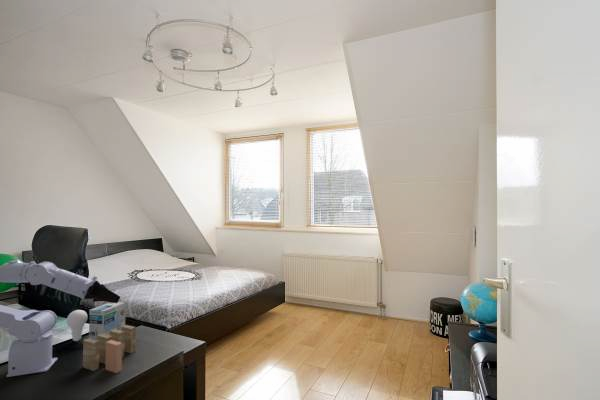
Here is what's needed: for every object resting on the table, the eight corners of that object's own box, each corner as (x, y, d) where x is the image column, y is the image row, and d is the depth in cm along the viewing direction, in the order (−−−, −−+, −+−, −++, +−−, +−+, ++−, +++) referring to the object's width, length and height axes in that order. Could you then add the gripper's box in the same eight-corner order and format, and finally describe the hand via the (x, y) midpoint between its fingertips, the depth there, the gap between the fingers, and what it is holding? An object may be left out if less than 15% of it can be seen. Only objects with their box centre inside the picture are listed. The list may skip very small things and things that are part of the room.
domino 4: (116, 373, 89) (116, 345, 89) (105, 369, 91) (105, 342, 91) (121, 370, 90) (122, 343, 91) (110, 367, 93) (111, 340, 93)
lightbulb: (75, 337, 114) (75, 307, 114) (91, 337, 114) (91, 307, 114) (61, 344, 108) (62, 313, 108) (78, 344, 108) (79, 313, 108)
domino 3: (119, 358, 98) (119, 333, 98) (109, 355, 100) (109, 330, 100) (124, 356, 99) (124, 331, 99) (113, 353, 101) (114, 328, 101)
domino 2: (106, 364, 94) (107, 338, 94) (96, 361, 96) (96, 335, 96) (111, 362, 95) (112, 336, 96) (101, 359, 98) (102, 333, 98)
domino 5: (130, 353, 101) (131, 328, 101) (120, 350, 103) (121, 326, 104) (135, 351, 103) (135, 327, 103) (125, 348, 105) (125, 324, 105)
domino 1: (93, 370, 90) (93, 343, 91) (82, 367, 93) (83, 340, 93) (98, 368, 92) (99, 341, 92) (88, 364, 94) (88, 338, 94)
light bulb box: (103, 341, 111) (104, 310, 111) (87, 339, 112) (88, 309, 113) (126, 329, 121) (126, 302, 122) (111, 328, 123) (111, 301, 123)
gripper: (74, 267, 91) (120, 283, 93) (86, 274, 103) (126, 289, 106) (58, 290, 87) (106, 307, 90) (73, 295, 100) (115, 309, 102)
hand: (116, 299), depth 98 cm, fingers open, 7 cm apart
